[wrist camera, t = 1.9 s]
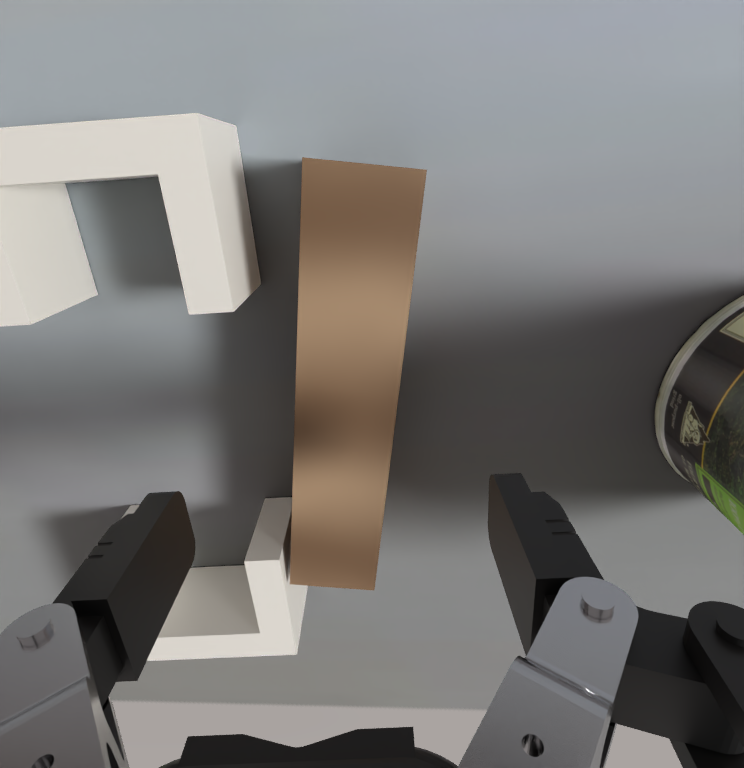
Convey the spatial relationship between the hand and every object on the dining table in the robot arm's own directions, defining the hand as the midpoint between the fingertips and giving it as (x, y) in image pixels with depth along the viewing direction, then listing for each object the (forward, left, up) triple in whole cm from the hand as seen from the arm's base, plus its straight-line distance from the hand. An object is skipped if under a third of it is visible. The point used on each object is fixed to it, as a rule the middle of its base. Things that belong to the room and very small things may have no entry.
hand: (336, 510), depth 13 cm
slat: (0, 0, -9) cm, 9 cm away
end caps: (+1, -7, -8) cm, 11 cm away
